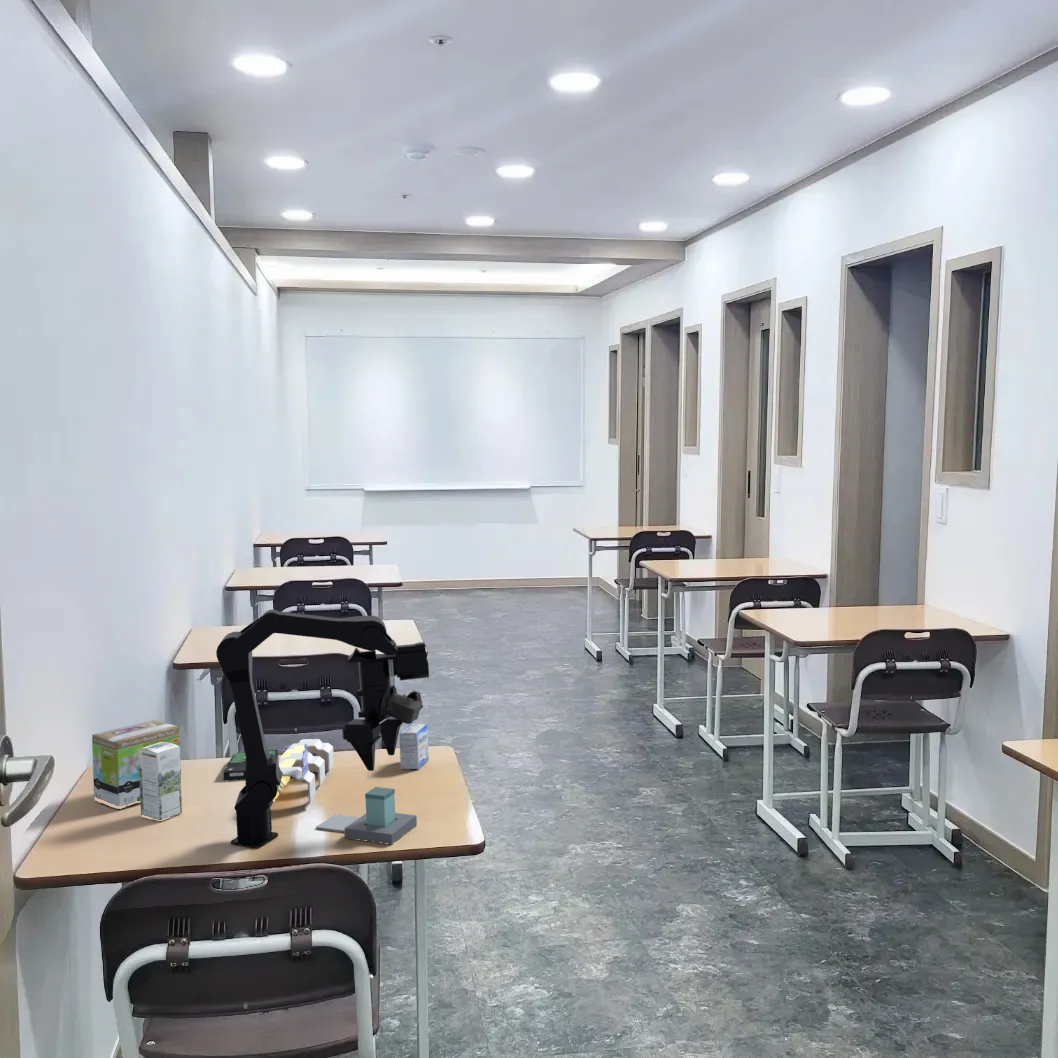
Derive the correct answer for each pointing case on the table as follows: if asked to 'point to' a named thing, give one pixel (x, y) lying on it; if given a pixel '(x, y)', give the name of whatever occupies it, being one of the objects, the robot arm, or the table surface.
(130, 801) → the tea box
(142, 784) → the syrup box
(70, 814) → the table surface
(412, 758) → the medicine box
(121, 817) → the table surface
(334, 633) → the robot arm
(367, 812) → the plug
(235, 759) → the disk drive
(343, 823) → the pad
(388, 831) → the socket
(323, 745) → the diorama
